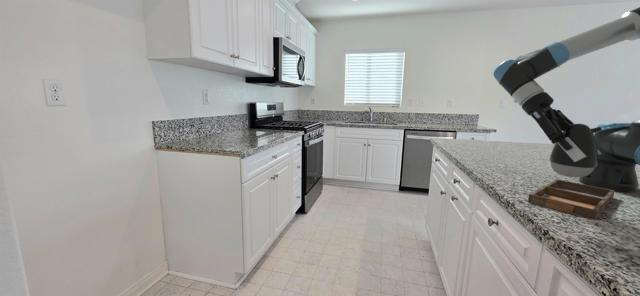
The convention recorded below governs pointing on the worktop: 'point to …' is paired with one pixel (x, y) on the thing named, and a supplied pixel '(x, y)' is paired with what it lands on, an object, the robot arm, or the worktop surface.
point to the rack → (572, 198)
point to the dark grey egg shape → (586, 143)
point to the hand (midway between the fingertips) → (588, 157)
